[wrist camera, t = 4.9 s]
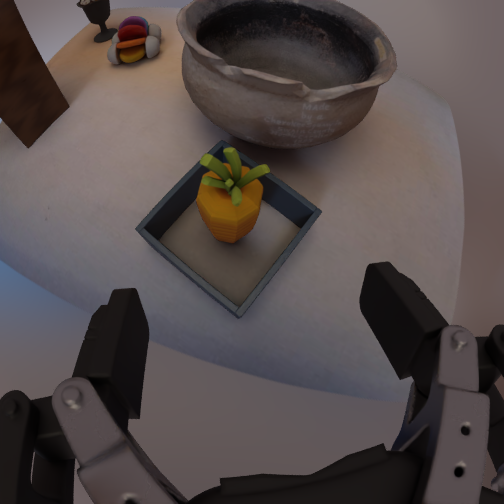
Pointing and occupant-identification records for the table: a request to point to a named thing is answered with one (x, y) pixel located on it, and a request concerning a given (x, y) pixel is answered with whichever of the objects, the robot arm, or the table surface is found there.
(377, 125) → the table surface
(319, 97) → the ceramic bowl
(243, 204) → the carrot
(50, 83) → the block
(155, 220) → the square storage tray
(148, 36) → the rainbow cloud toy
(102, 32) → the sundae
